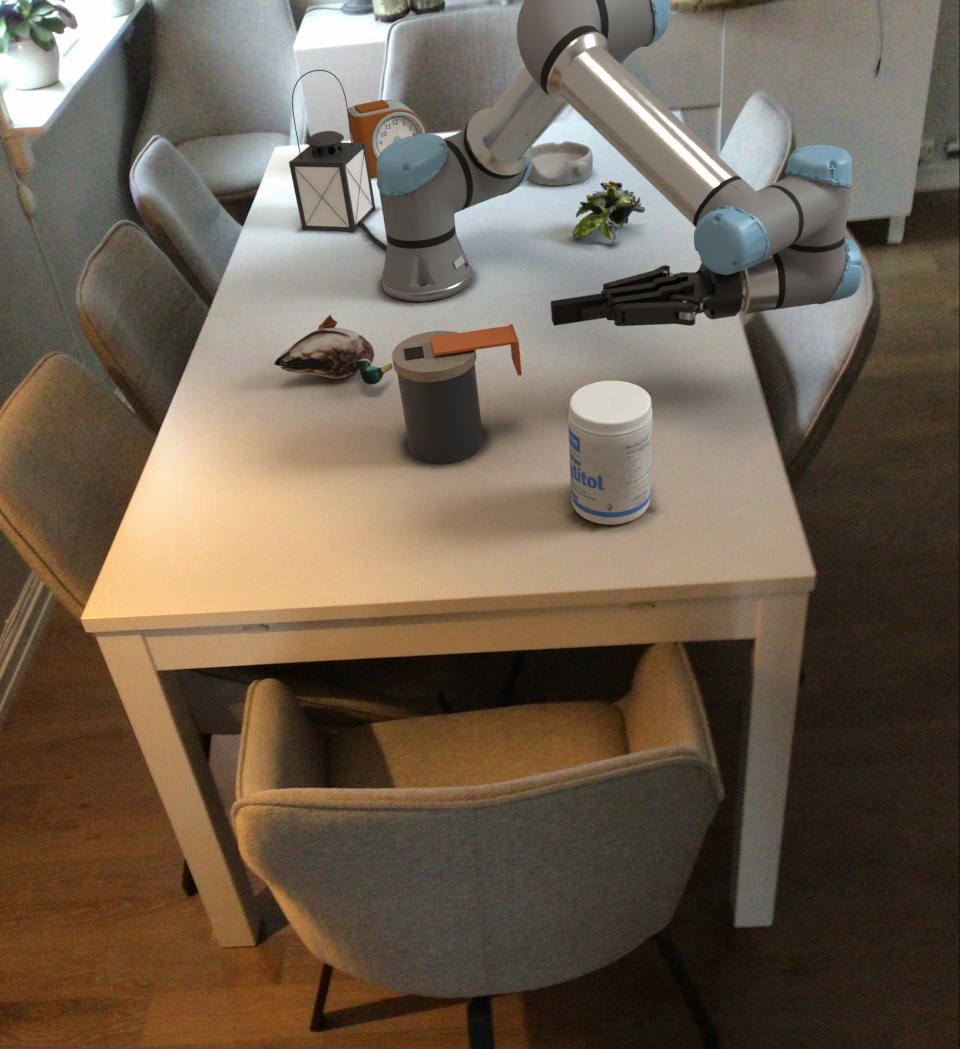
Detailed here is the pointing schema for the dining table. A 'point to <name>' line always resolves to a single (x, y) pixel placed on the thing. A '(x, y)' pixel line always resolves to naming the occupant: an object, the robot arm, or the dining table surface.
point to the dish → (560, 163)
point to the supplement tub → (610, 451)
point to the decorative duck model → (332, 354)
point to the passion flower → (607, 210)
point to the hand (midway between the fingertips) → (552, 313)
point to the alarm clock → (382, 126)
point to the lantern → (332, 181)
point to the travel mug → (438, 400)
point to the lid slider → (479, 342)
